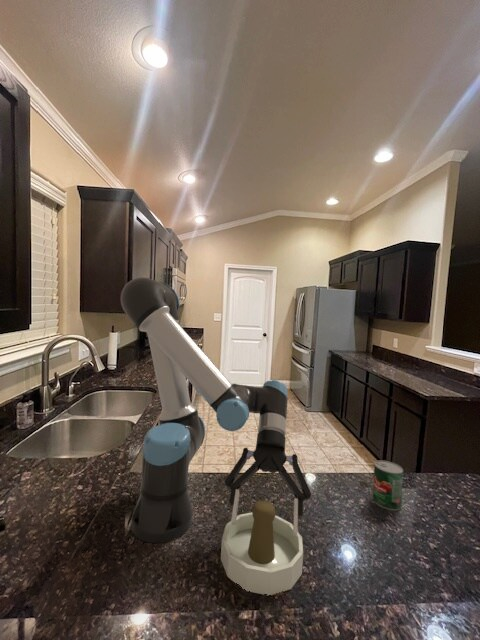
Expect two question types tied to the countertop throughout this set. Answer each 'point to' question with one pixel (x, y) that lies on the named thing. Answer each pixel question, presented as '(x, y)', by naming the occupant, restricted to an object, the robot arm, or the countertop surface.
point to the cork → (262, 533)
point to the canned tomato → (387, 485)
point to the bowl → (262, 576)
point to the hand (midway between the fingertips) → (263, 528)
